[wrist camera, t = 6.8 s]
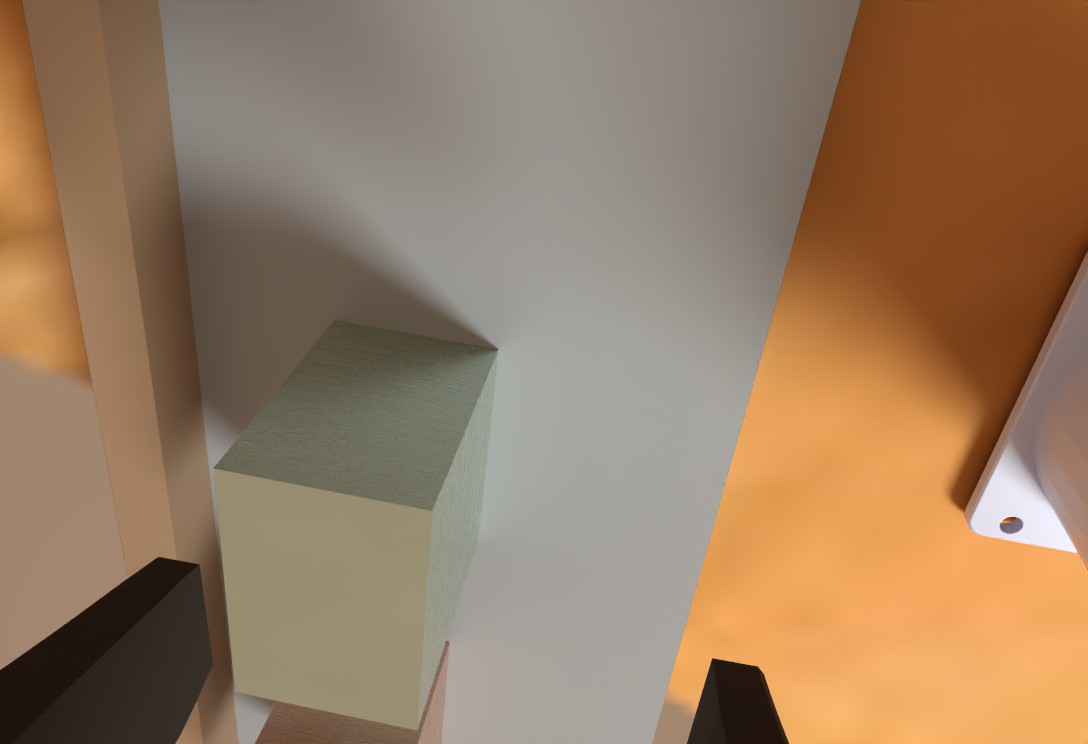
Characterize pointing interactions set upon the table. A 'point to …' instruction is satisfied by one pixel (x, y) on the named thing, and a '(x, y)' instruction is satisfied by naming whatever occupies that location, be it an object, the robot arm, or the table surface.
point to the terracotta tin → (356, 722)
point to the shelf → (448, 285)
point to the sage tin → (355, 521)
